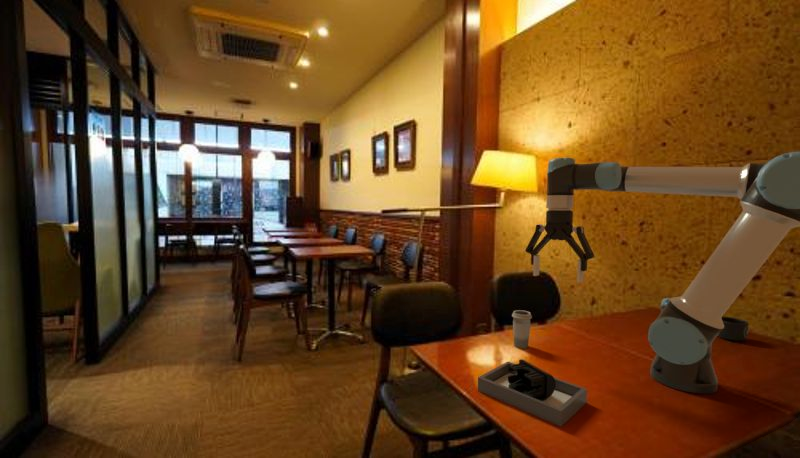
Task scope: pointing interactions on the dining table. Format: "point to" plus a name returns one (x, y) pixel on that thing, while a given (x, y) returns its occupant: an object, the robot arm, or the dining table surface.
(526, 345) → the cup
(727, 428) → the dining table surface
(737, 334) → the mug
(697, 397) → the dining table surface
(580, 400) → the shallow grey tray
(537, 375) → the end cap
